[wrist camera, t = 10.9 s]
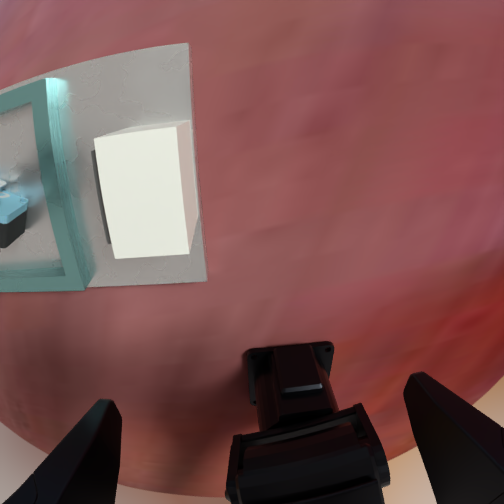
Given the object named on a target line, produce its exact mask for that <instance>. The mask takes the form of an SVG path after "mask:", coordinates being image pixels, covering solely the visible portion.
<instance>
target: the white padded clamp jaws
mask: <svg viewBox="0 0 504 504" xmlns="http://www.w3.org/2000/svg"><path fill="white" fill-rule="evenodd" d="M94 144H95V149H94V150H92V151H91V157H92V164H93V171H94V177H95V183H96V189H97V195H98V201H99V206H100V211H101V217H102V222H103V226H104V231H105V236H106V240H107V244H112V248H113V252H114V256H115V259H121V258H137V257H152V256H167V255H182V254H190V249H191V245H192V240H193V236H194V231H195V227H196V223H197V218H198V210H197V199H196V188H195V177H194V165H193V153H192V140H191V125H190V120H186V121H176V122H167V123H159V124H151V125H143V126H136V127H130V128H125V129H122V130H119V131H116V132H112V133H109V134H106V135H103V136H100V137H97V138H94Z"/></svg>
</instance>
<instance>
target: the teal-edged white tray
mask: <svg viewBox="0 0 504 504" xmlns="http://www.w3.org/2000/svg"><path fill="white" fill-rule="evenodd" d="M186 120H190V125H191V140H192V153H193V165H194V177H195V188H196V199H197V210H198V218H197V223H196V227H195V231H194V236H193V240H192V245H191V249H190V254H182V255H167V256H152V257H137V258H121V259H115V256H114V252H113V248H112V244H107V240H106V236H105V231H104V226H103V222H102V217H101V211H100V206H99V201H98V195H97V189H96V183H95V177H94V171H93V164H92V157H91V151H92V150H94V149H95V144H94V138H97V137H100V136H103V135H106V134H109V133H112V132H116V131H119V130H122V129H125V128H130V127H136V126H143V125H151V124H159V123H167V122H176V121H186ZM0 180H2V181H5V182H6V185H5V186H3V187H1V188H0V189H2V190H4V191H7V192H9V193H12V194H14V195H17V196H19V197H23V198H26V199H28V206H27V215H26V224H25V232H24V233H23V234H22V235H21V236H20V237H19V238H17V239H16V240H15V241H14V242H13V243H11V244H10V245H9V246H8V247H7V248H0V292H44V291H82V290H85V289H86V288H87V287H103V286H127V285H149V284H168V283H187V282H204V281H207V278H208V262H207V252H206V243H205V233H204V223H203V212H202V202H201V190H200V179H199V166H198V153H197V139H196V124H195V108H194V90H193V70H192V47H191V46H190V44H189V43H181V44H173V45H166V46H159V47H152V48H146V49H140V50H135V51H129V52H124V53H119V54H115V55H110V56H106V57H101V58H97V59H93V60H89V61H85V62H81V63H78V64H74V65H71V66H67V67H64V68H61V69H57V70H54V71H51V72H48V73H45V74H42V75H39V76H36V77H33V78H30V79H28V80H25V81H22V82H20V83H17V84H14V85H12V86H9V87H7V88H5V89H2V90H0Z"/></svg>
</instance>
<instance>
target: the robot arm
mask: <svg viewBox="0 0 504 504" xmlns="http://www.w3.org/2000/svg"><path fill="white" fill-rule="evenodd" d="M328 347H329V348H328ZM326 348H327V349H326ZM333 354H334V346H333V343H332V342H328V341H327V342H319V343H310V344H301V345H292V346H282V347H271V348H259V349H251V350H249V351H248V352H247V363H248V378H249V393H250V403H251V404H252V405H254V406H257V414H258V423H259V432H255V433H250V434H245V435H242V434H238V435H233V442H232V445H231V450H230V457H229V465H228V473H227V481H226V490H225V497H226V499H227V500H228V501H230V502H231V504H385V503H384V498H383V493H382V488H383V487H386V486H388V485H390V472H389V467H388V463H387V459H386V456H385V452H384V449H383V447H382V444H381V442H380V440H379V437H378V435H377V433H376V431H375V429H374V427H373V425H372V423H371V421H370V419H369V417H368V415H367V413H366V411H365V409H364V407H363V405H362V403H358V404H355V405H353V407H350V408H347V409H344V410H341V411H339V408H338V405H337V402H336V399H335V396H334V393H333V390H332V387H331V384H330V381H329V376H330V371H331V365H332V359H333ZM252 355H256V356H252ZM403 396H404V400H405V404H406V408H407V411H408V415H409V419H410V423H411V427H412V431H413V435H414V438H415V441H416V443H417V446H418V449H419V451H420V454H421V457H422V460H423V463H424V466H425V469H426V471H427V474H428V477H429V480H430V483H431V486H432V489H433V492H434V495H435V498H436V502H437V504H504V428H503V427H501V426H500V425H499V424H497V423H496V422H495V421H493V420H492V419H490V418H489V417H487V416H486V415H485V414H483V413H481V412H480V411H479V410H477V409H476V408H475V407H473V406H472V405H470V404H469V403H467V402H466V401H465V400H463V399H462V398H460V397H459V396H458V395H456V394H455V393H453V392H452V391H450V390H449V389H448V388H446V387H445V386H443V385H442V384H440V383H439V382H438V381H436V380H435V379H433V378H432V377H430V376H429V375H428V374H426V373H425V372H422V371H421V372H416V373H413V374H411V375H410V376H409V379H408V381H407V384H406V386H405V388H404V392H403ZM121 432H122V417H121V414H120V412H119V411H118V409H117V407H116V405H115V403H114V401H113V400H111V399H99V400H98V401H97V402H96V403H95V404H94V405H93V406H92V408H91V409H90V410H89V411H88V412H87V413H86V414H85V415H84V416H83V417H82V419H81V420H80V421H79V422H78V423H77V424H76V425H75V426H74V427H73V429H72V430H71V431H70V432H69V433H68V434H67V435H66V436H65V437H64V439H63V440H62V441H61V442H60V443H59V444H58V445H57V446H56V447H55V449H54V450H53V451H52V452H51V453H50V454H49V455H48V456H47V458H46V459H45V460H44V461H43V462H42V463H41V464H40V465H39V466H38V468H37V469H36V470H35V471H34V474H31V475H30V476H29V478H28V479H27V480H26V481H25V482H24V483H23V484H22V485H21V486H20V488H19V489H17V490H16V492H14V493H13V494H12V495H11V496H10V497H9V498H8V499H7V500H6V501H5V502H4V503H2V504H115V496H116V489H117V482H118V475H119V468H120V454H121Z"/></svg>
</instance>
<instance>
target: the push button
mask: <svg viewBox="0 0 504 504" xmlns="http://www.w3.org/2000/svg"><path fill="white" fill-rule="evenodd" d="M5 185H6V182H5V181H2V180H0V188H1V187H3V186H5ZM27 206H28V199H26V198H23V197H19V196H17V195H14V194H12V193H9V192H7V191H4V190H2V189H0V248H7V247H8V246H9V245H10V244H11V243H13V242H14V241H15V240H16V239H17V238H19V237H20V236H21V235H22V234H23V233H24V232H25V224H26V215H27Z"/></svg>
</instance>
